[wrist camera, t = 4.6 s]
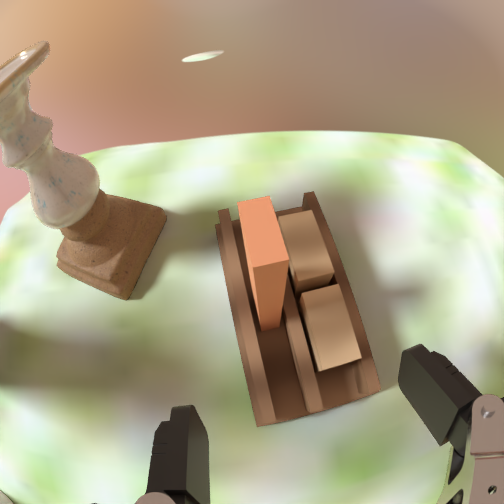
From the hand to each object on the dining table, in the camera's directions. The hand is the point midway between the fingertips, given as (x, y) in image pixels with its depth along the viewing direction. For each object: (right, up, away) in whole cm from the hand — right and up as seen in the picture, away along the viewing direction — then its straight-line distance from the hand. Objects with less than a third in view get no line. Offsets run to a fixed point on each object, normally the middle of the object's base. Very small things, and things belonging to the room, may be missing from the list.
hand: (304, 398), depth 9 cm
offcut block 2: (+4, -2, +15) cm, 16 cm away
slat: (-1, 0, +16) cm, 16 cm away
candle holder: (-18, +6, +22) cm, 30 cm away
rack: (+3, 0, +18) cm, 18 cm away
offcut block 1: (+3, +4, +18) cm, 19 cm away
